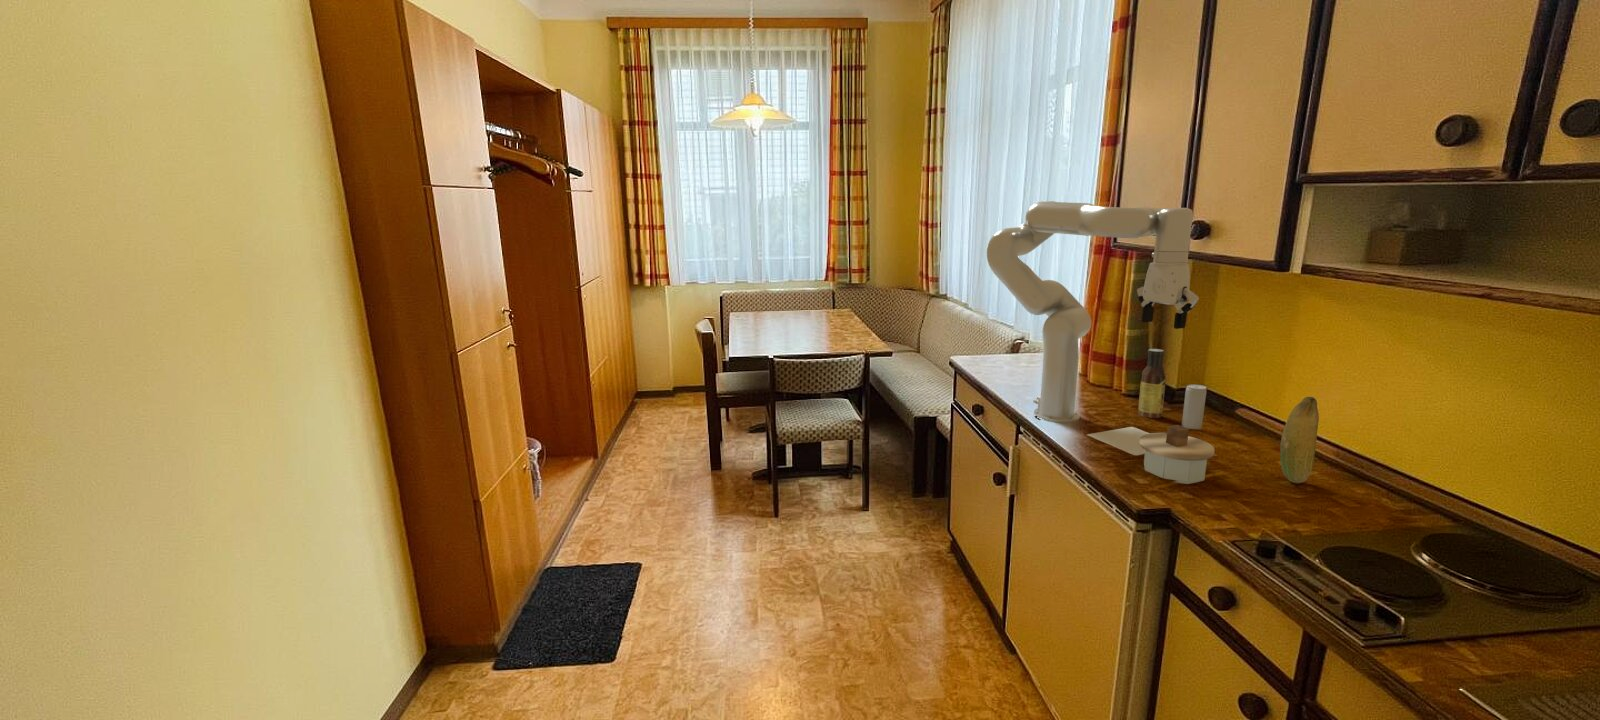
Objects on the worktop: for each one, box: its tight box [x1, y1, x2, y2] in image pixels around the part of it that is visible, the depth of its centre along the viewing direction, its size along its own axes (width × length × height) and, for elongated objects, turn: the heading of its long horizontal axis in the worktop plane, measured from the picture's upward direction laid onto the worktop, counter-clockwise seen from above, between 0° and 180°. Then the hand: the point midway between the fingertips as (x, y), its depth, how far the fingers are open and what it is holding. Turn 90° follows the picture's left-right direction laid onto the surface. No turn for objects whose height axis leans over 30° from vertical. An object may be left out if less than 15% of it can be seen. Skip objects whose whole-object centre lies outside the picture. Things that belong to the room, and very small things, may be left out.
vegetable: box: [1279, 396, 1320, 484], centre depth 142 cm, size 6×6×20 cm
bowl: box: [1143, 450, 1208, 485], centre depth 150 cm, size 12×12×6 cm
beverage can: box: [1181, 383, 1207, 430], centre depth 177 cm, size 5×5×12 cm
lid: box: [1139, 424, 1216, 461], centre depth 149 cm, size 15×15×5 cm
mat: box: [1086, 426, 1150, 456], centre depth 169 cm, size 16×16×1 cm
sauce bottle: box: [1137, 348, 1167, 419], centre depth 187 cm, size 6×6×20 cm
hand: (1162, 324), depth 167 cm, fingers open, 9 cm apart
